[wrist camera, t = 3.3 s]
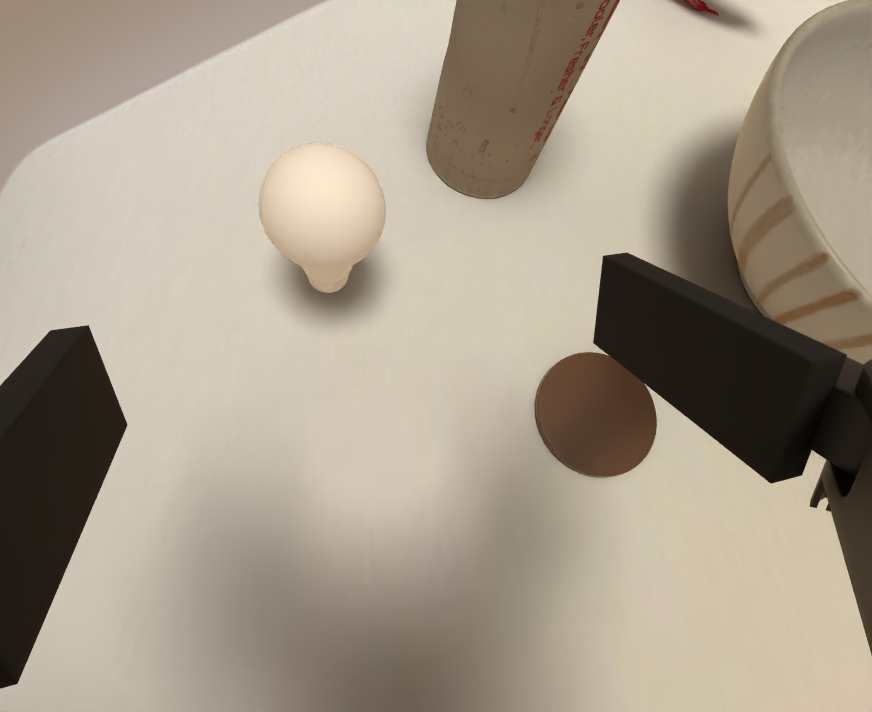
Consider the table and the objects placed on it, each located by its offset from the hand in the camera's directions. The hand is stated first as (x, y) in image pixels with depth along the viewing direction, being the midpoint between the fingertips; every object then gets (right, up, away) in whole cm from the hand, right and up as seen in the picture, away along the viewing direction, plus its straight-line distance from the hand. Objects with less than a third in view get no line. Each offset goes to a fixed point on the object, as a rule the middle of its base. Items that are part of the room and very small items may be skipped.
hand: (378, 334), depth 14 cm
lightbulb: (-5, +4, +20) cm, 21 cm away
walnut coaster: (+12, -4, +20) cm, 23 cm away
